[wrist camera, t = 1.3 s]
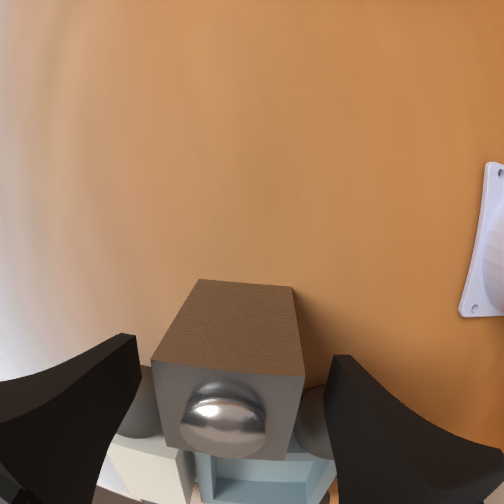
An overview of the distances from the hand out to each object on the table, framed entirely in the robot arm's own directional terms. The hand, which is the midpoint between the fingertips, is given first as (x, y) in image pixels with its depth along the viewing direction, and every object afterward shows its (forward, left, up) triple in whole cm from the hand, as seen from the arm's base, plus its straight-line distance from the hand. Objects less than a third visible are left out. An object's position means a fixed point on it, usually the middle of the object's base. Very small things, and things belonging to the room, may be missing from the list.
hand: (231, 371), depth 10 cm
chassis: (0, +9, -3) cm, 10 cm away
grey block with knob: (0, 0, -4) cm, 4 cm away
